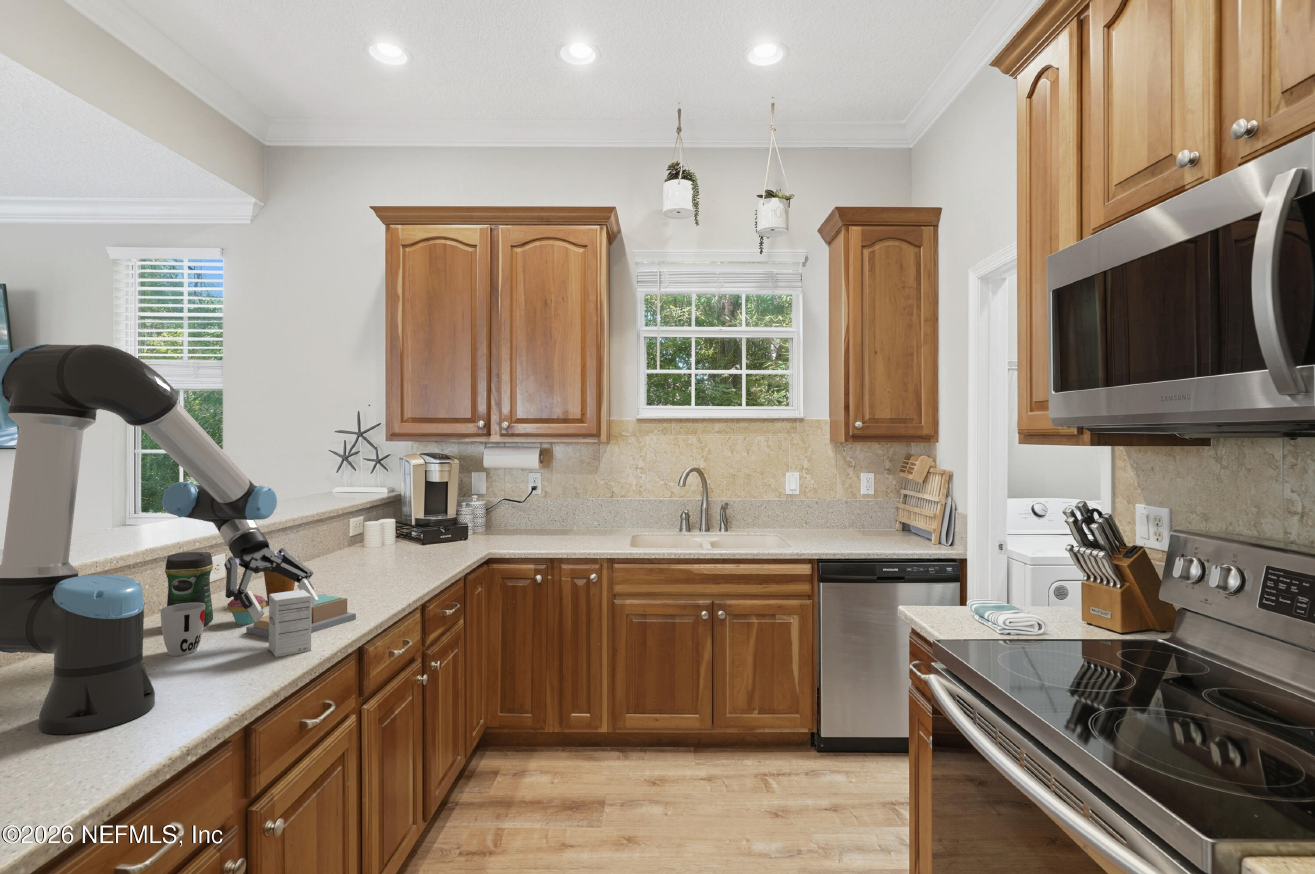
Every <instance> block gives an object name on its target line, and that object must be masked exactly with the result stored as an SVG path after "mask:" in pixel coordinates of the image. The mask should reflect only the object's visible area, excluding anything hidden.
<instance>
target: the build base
mask: <svg viewBox="0 0 1315 874" xmlns="http://www.w3.org/2000/svg"><path fill="white" fill-rule="evenodd" d="M316 596H317V597H318V599H319V600H318V601H317V602H316V604H315V605H314V606H313V607H311V634H313V633H315V632H318V631H321V630H325V629H328V628H332V627H334V626H338V625H341V624H345V623H349V622H351V621H352V622H353V621H354V620H356V619H357V613H355V612H349V611H348V598H347V597H341V596H333V595H327V594H316ZM245 629H246V630H245V631H246V634H250V635H255V636H259V637H265V638H269V614H268V615H263V616H262V617H261V619H260V620H259V621H258V622H255V621H254V623H253V624H252V625H248V626H246V628H245Z"/></svg>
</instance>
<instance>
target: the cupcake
mask: <svg viewBox="0 0 1315 874" xmlns="http://www.w3.org/2000/svg"><path fill="white" fill-rule="evenodd" d="M247 589H248V588H247ZM247 589H246V591H245V592H247V591H248V590H247ZM252 594H253V595H254V597H255V599H256V600H257V602H258V604H259V605H260V607H261V609H262V610H264V608H265V607H266V606H267V605H266V604H267V603H266V602H267V600H265V598H264V597H263V596H261V595H257V594H254V593H252ZM226 610H227V611H228V612H230V613H231V614H232V616H233V618H234V619H233V620H234V622H235V624H236V625H239V626H240V625H241V626H243V625H250V624H252V625H253V624H254V619H253V618H252V616H251V614H250V613H249V611H248V609H244V608H243V606H242V605H241V603H240V601H239V600H238V601H235V600H234V599H230V601H228V603H227V605H226Z"/></svg>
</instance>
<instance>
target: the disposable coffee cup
mask: <svg viewBox="0 0 1315 874" xmlns="http://www.w3.org/2000/svg"><path fill="white" fill-rule="evenodd" d="M294 558H295V559H296V560H298V558H297V557H294ZM275 565H276V563H274V564H273V567H274V566H275ZM263 578H264V584H265V585H264V586H265V593H266V599H267V600H266V601H267V603H268V604H269V594H273V593H281V592H288V591H295V584H296V582H295V581H293V580H291V579H289V578H287V577H285V576H283V575H281V574H279V573H276V572H271V571H267V572H263Z"/></svg>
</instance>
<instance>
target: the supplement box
mask: <svg viewBox="0 0 1315 874" xmlns="http://www.w3.org/2000/svg"><path fill="white" fill-rule="evenodd" d="M268 610H269V611H268V615H269V637H268V649H269V650H270V651H271V652H272V654H273V655H274V657H275V658H279V657H285V656H289V655H296V654H301V653H305V652H307V653H308V652H310V651H312V633H311V595H310V594H308V593H307V592H306V591H305V590H299V589H298V590H297V589H296V590H295V589H294V591H288V592H281V593H273V594H269V603H268Z"/></svg>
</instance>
